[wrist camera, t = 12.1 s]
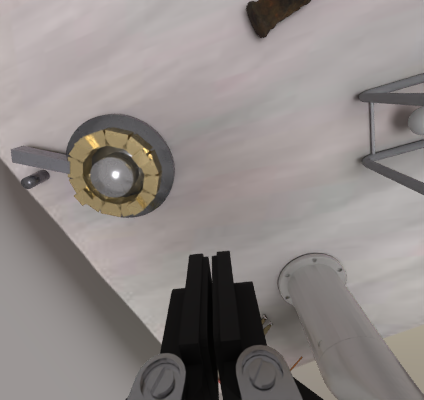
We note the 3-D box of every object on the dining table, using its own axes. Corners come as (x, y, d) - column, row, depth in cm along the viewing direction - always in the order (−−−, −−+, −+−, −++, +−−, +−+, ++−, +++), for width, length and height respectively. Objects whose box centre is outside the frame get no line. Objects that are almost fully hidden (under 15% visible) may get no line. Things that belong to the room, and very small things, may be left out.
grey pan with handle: (167, 139, 35) (162, 144, 32) (155, 214, 40) (150, 226, 37) (22, 106, 33) (1, 108, 30) (29, 189, 38) (11, 199, 35)
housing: (182, 208, 41) (178, 223, 37) (58, 222, 42) (39, 238, 38) (163, 107, 35) (156, 109, 30) (17, 125, 36) (-11, 131, 31)
